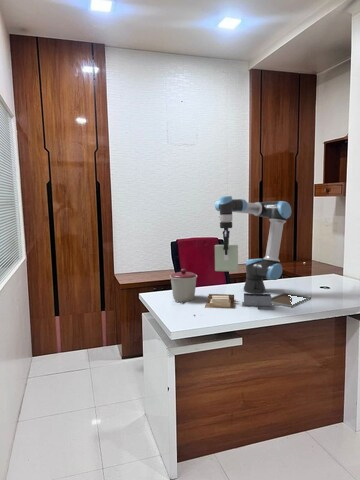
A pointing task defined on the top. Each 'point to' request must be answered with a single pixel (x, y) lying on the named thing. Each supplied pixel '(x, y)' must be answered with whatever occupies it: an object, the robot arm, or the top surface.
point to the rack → (231, 297)
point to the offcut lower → (220, 304)
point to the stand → (257, 301)
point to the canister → (183, 285)
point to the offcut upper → (220, 299)
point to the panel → (226, 264)
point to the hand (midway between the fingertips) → (226, 259)
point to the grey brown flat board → (286, 300)
